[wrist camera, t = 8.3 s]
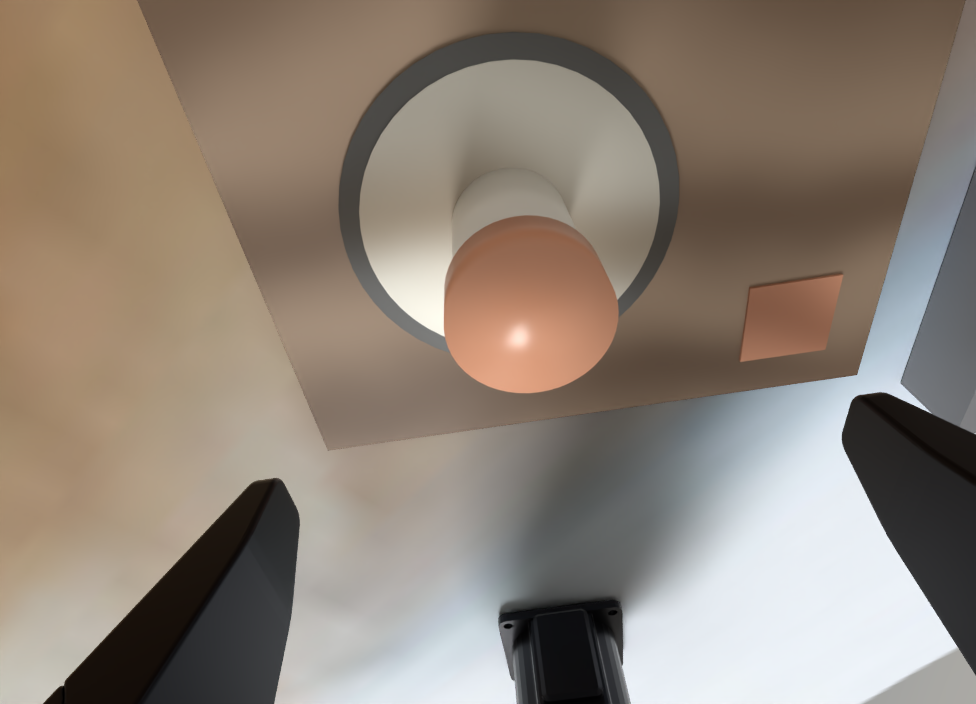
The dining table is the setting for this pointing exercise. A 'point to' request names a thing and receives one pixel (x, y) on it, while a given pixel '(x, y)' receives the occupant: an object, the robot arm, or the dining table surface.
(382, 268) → the colouring board
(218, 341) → the dining table surface
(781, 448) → the dining table surface
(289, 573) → the robot arm
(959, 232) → the button housing
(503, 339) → the mushroom
